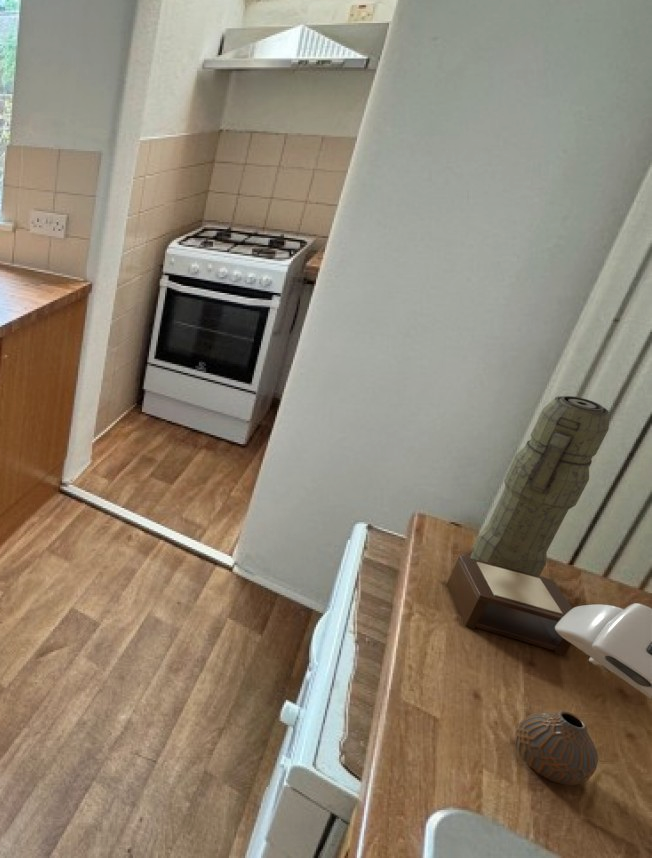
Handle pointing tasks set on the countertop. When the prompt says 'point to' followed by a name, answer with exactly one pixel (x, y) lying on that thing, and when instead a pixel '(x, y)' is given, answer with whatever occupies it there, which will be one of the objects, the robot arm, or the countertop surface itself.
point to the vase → (557, 747)
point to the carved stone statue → (543, 484)
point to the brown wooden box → (509, 603)
